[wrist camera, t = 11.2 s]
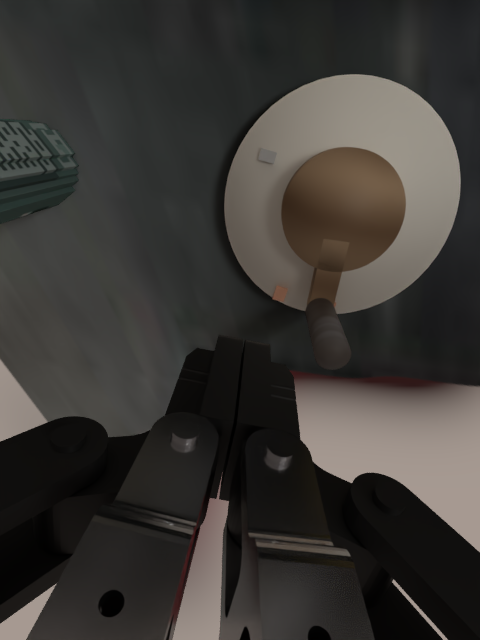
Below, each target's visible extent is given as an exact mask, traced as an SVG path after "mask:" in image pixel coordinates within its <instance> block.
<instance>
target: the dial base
mask: <svg viewBox="0 0 480 640" xmlns="http://www.w3.org/2000/svg"><path fill="white" fill-rule="evenodd" d="M337 147H355V148H361V149H366V150H369V151H371V152H374V153H376V154H378V155H380V156H381V157H383V158H384V159H385V160H387V161H388V162H389V163H390V164H391V165H392V166H393V167H394V169H395V170H396V172H397V173H398V175H399V177H400V179H401V181H402V184H403V187H404V190H405V196H406V210H405V216H404V221H403V224H402V226H401V229H400V231H399V233H398V235H397V237H396V239H395V240H394V242H393V243H392V245H391V246H390V247H389V248H388V249H387V250H386V251H385V252H384V253H383V254H382V255H381V256H380V257H378V258H377V259H376V260H374V261H373V262H371V263H369V264H368V265H366V266H363V267H361V268H358V269H355V270H351V271H345V272H342V274H341V278H340V282H339V286H338V290H337V294H336V298H335V302H334V308H335V310H336V313H337V314H342V313H349V312H355V311H359V310H363V309H367V308H369V307H372V306H375V305H377V304H380V303H382V302H384V301H386V300H388V299H390V298H392V297H394V296H395V295H397V294H398V293H400V292H401V291H403V290H404V289H406V288H407V287H408V286H409V285H411V284H412V283H413V282H414V281H415V280H417V279H418V278H419V277H420V276H421V275H422V273H423V272H424V271H425V270H426V269H427V268H428V267H429V266H430V264H431V263H432V262H433V261H434V259H435V258H436V257H437V255H438V254H439V252H440V250H441V249H442V247H443V245H444V244H445V242H446V240H447V238H448V235H449V233H450V231H451V229H452V226H453V223H454V220H455V217H456V213H457V209H458V203H459V198H460V183H461V179H460V167H459V161H458V156H457V152H456V148H455V145H454V143H453V140H452V138H451V135H450V133H449V131H448V129H447V128H446V126H445V124H444V122H443V121H442V119H441V118H440V116H439V115H438V114H437V113H436V112H435V110H434V109H433V108H432V107H431V106H430V105H429V104H428V103H427V102H426V101H425V100H424V99H422V98H421V97H420V96H419V95H418V94H416V93H414V92H413V91H411V90H410V89H408V88H406V87H405V86H403V85H400V84H398V83H396V82H393V81H391V80H388V79H384V78H380V77H376V76H370V75H358V74H352V75H338V76H333V77H328V78H324V79H320V80H317V81H314V82H312V83H309V84H306V85H304V86H302V87H300V88H298V89H296V90H294V91H292V92H291V93H289V94H287V95H286V96H284V97H283V98H282V99H280V100H279V101H277V102H276V103H275V104H273V105H272V106H271V107H270V108H269V109H268V110H267V111H266V112H265V113H264V114H263V115H262V116H261V117H260V118H259V119H258V120H257V121H256V123H255V124H254V125H253V126H252V128H251V129H250V130H249V131H248V133H247V135H246V136H245V138H244V140H243V141H242V143H241V144H240V146H239V148H238V151H237V153H236V155H235V157H234V159H233V162H232V165H231V168H230V171H229V174H228V178H227V184H226V189H225V201H224V212H225V224H226V229H227V234H228V238H229V241H230V244H231V247H232V249H233V252H234V254H235V256H236V258H237V260H238V262H239V263H240V265H241V266H242V268H243V269H244V271H245V272H246V274H247V275H248V276H249V277H250V278H251V280H252V281H253V282H254V283H255V284H256V285H257V286H258V287H259V288H261V289H262V290H263V291H264V292H265V293H267V294H268V295H270V296H271V297H272V299H274V300H277V301H279V302H281V303H283V304H285V305H287V306H290V307H293V308H296V309H299V310H302V311H305V310H306V307H307V300H308V295H309V291H310V286H311V282H312V277H313V272H314V268H315V267H313V266H311V265H309V264H307V263H306V262H304V261H303V260H302V259H301V258H299V257H298V256H297V255H296V254H295V252H294V251H293V250H292V248H291V247H290V245H289V244H288V241H287V239H286V237H285V234H284V231H283V226H282V219H281V206H282V200H283V195H284V192H285V190H286V187H287V185H288V183H289V181H290V179H291V178H292V176H293V175H294V173H295V172H296V171H297V170H298V169H299V168H300V167H301V166H302V165H303V164H304V163H305V162H306V161H307V160H309V159H310V158H312V157H313V156H315V155H317V154H319V153H321V152H323V151H326V150H329V149H333V148H337Z"/></svg>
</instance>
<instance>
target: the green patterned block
mask: <svg viewBox="0 0 480 640" xmlns="http://www.w3.org/2000/svg"><path fill="white" fill-rule="evenodd" d="M74 154H75V153H74V151H73V150H72V149H71V147H70V146H69V145H68V144H67V142H66V141H65V140H64V139H63V137H62V136H61V135H60V133H59V132H58V131H57V130H50V128H49V127H48V126H47V125H46V124H40V123H39V122H32V121H26V120H10V119H0V224H1V223H4V222H7V221H10V220H13V219H16V218H19V217H22V216H25V215H28V214H31V213H34V212H37V211H40V210H43V209H46V208H49V207H52V206H56V205H59V204H60V203H61V202H62V201H63V200H65V199H66V198H67V197H68V196H69V195H70V194H72V193H73V192H74V191H75V189H74V188H73V187H72V186H73V185H74V184H75V183H76V182H77V181H79V180H78V179H77V177H76V175H77V174H78V171H77V170H76V169H75V168H77V167H78V166H79V165H78V164H77V163H76V161H75V160H74V159H73V158H72V156H73V155H74Z"/></svg>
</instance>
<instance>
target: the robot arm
mask: <svg viewBox="0 0 480 640" xmlns="http://www.w3.org/2000/svg"><path fill="white" fill-rule="evenodd" d="M242 347H243V339H238V338H233V337H228V336H223V335H219V336H218V340H217V344H216V348H215V351H210V350H205V349H200V348H197V349H195V350H194V351H193V352H191V353H190V354H189V355H187V356H186V359H185V362H184V364H183V367H182V370H181V373H180V375H179V379H178V381H177V384H176V386H175V389H174V392H173V395H172V397H171V400H170V403H169V406H168V408H167V411H166V414H165V416H163V417H161V418H160V419H158V420H157V421H156V422H155V423H154V425H153V426H152V428H151V430H149V431H147V432H145V433H142V434H138V435H134V436H123V437H108V434H107V432H106V430H105V428H104V427H103V426H102V425H101V424H100V423H98V422H96V421H95V420H92V419H89V418H85V417H78V416H74V417H63V418H59V419H56V420H53V421H50V422H48V423H45V424H43V425H40V426H38V427H35V428H33V429H31V430H28V431H26V432H23V433H21V434H18V435H16V436H13V437H11V438H8V439H6V440H4V441H1V442H0V623H2V622H3V621H4V620H6V619H7V618H9V617H10V616H11V615H13V614H14V613H16V612H17V611H18V610H20V609H21V608H23V607H24V606H25V605H27V604H28V603H30V602H31V601H32V600H34V599H35V598H36V597H38V596H39V595H41V594H42V593H43V592H45V591H46V590H48V589H49V588H50V587H52V586H53V585H55V584H56V583H57V584H56V586H55V588H54V590H53V592H52V593H51V595H50V597H49V599H48V601H47V602H46V604H45V606H44V608H43V610H42V612H41V613H40V615H39V617H38V619H37V621H36V623H35V624H34V626H33V628H32V630H31V632H30V634H29V635H28V638H27V639H26V640H172V638H173V634H174V630H175V626H176V621H177V618H178V614H179V610H180V605H181V601H182V598H183V594H184V589H185V586H186V582H187V578H188V574H189V570H190V566H191V562H192V558H193V554H194V550H195V547H196V542H197V539H198V535H199V531H200V526H201V524H202V523H203V521H204V519H205V516H206V512H207V508H208V503H209V499H210V498H215V499H216V498H217V493H218V489H219V485H220V480H221V476H222V481H221V489H220V496H219V499H221V500H226V501H229V506H228V516H227V520H226V523H225V527H224V532H223V555H222V587H221V589H222V590H221V621H220V634H219V640H443V639H442V638H441V637H440V636H439V635H438V634H437V632H436V631H435V630H434V629H433V628H432V627H431V626H430V625H429V624H428V622H427V621H426V620H425V619H424V618H423V617H422V616H421V615H420V613H419V612H418V611H417V610H416V609H415V608H414V607H413V605H412V604H411V603H410V602H409V601H408V600H407V599H406V598H405V596H404V595H403V594H402V593H401V592H400V591H399V590H398V589H397V587H396V586H395V585H394V584H393V583H392V581H393V579H394V580H395V581H396V582H397V583H398V584H399V585H400V587H402V589H403V590H404V591H405V592H406V593H407V594H408V595H409V597H410V598H411V599H412V600H413V601H414V602H415V603H416V604H417V605H418V606H419V608H420V609H421V610H422V611H423V612H424V613H425V614H426V615H427V617H428V618H429V619H430V620H431V621H432V622H433V623H434V624H435V625H436V626H437V628H438V629H439V630H440V631H441V632H442V633H443V634H444V635H445V637H446V638H447V639H448V640H480V552H479V551H477V550H476V549H475V548H474V547H473V546H472V545H471V544H470V543H468V542H467V541H466V540H465V539H464V538H463V537H462V536H461V535H459V534H458V533H457V532H456V531H455V530H454V529H453V528H452V527H450V526H449V525H448V524H447V523H446V522H445V521H444V520H442V519H441V518H440V517H439V516H438V515H437V514H436V513H435V512H433V511H432V510H431V509H430V508H429V507H428V506H427V505H426V504H424V503H423V502H422V501H421V500H420V499H419V498H418V497H417V496H416V495H414V494H413V493H412V492H411V491H410V490H409V489H407V488H406V487H405V486H404V485H403V484H401V483H400V482H398V481H396V480H395V479H393V478H391V477H388V476H385V475H382V474H378V473H365V474H361V475H359V476H358V477H356V478H355V479H354V481H353V483H350V482H347V481H345V480H343V479H341V478H339V477H336V476H334V475H332V474H330V473H328V472H326V471H324V470H323V469H321V468H320V467H318V466H317V465H316V464H315V463H314V462H313V461H312V457H311V454H310V451H309V450H308V448H307V447H306V445H305V444H304V443H303V442H302V441H301V440H300V432H299V422H298V413H297V405H296V396H295V391H294V390H295V386H294V377H293V375H292V374H291V372H290V371H289V370H288V368H287V367H286V365H283V364H278V363H273V362H270V345H269V344H264V343H259V342H254V341H249V340H245V343H244V347H243V351H242ZM222 472H223V473H222Z"/></svg>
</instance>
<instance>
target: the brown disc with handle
mask: <svg viewBox="0 0 480 640" xmlns="http://www.w3.org/2000/svg"><path fill="white" fill-rule="evenodd" d="M405 210H406V196H405V190H404V187H403V184H402V181H401V179H400V177H399V175H398V173H397V172H396V170H395V169H394V167H393V166H392V165H391V164H390V163H389V162H388V161H387V160H385V159H384V158H383V157H381V156H380V155H378V154H376V153H374V152H371V151H369V150H366V149H361V148H355V147H337V148H333V149H329V150H326V151H323V152H321V153H319V154H317V155H315V156H313V157H312V158H310V159H309V160H307V161H306V162H305V163H304V164H303V165H302V166H301V167H300V168H299V169H298V170H297V171H296V172H295V173H294V175H293V176H292V178H291V179H290V181H289V183H288V185H287V187H286V190H285V192H284V195H283V200H282V206H281V219H282V226H283V231H284V234H285V237H286V239H287V241H288V244H289V245H290V247H291V248H292V250H293V251H294V252H295V254H296V255H297V256H298V257H299V258H301V259H302V260H303V261H304V262H306V263H307V264H309V265H311V266H313V267H315V268H314V272H313V277H312V282H311V286H310V291H309V295H308V300H307V307H306V310H305V314H306V319H307V323H308V328H309V333H310V337H311V342H312V346H313V351H314V356H315V360H316V362H317V363H318V364H319V365H320V366H321V367H322V368H325V369H328V370H335V369H339V368H341V367H343V366H345V365H346V364H347V363H348V362H349V360H350V358H351V349H350V346H349V344H348V341H347V339H346V336H345V334H344V331H343V328H342V326H341V323H340V321H339V318H338V316H337V313H336V310H335V308H334V302H335V298H336V294H337V290H338V286H339V282H340V278H341V274H342V272H345V271H351V270H355V269H358V268H361V267H363V266H366V265H368V264H369V263H371V262H373V261H374V260H376V259H377V258H378V257H380V256H381V255H382V254H383V253H384V252H385V251H386V250H387V249H388V248H389V247H390V246H391V245H392V243H393V242H394V240H395V239H396V237H397V235H398V233H399V231H400V229H401V226H402V224H403V221H404V216H405Z"/></svg>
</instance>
